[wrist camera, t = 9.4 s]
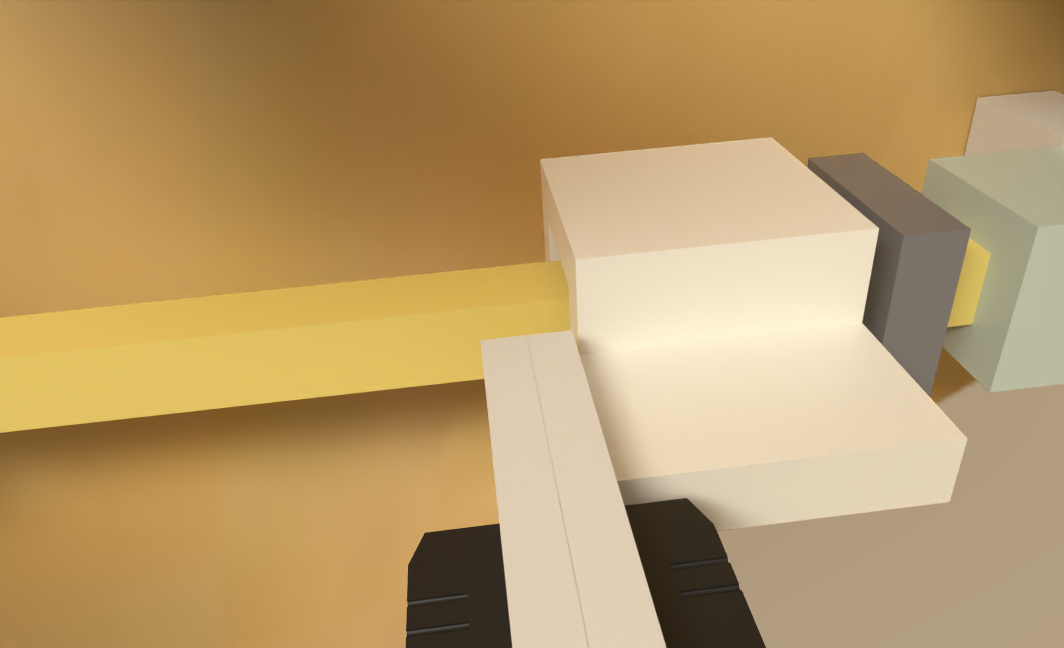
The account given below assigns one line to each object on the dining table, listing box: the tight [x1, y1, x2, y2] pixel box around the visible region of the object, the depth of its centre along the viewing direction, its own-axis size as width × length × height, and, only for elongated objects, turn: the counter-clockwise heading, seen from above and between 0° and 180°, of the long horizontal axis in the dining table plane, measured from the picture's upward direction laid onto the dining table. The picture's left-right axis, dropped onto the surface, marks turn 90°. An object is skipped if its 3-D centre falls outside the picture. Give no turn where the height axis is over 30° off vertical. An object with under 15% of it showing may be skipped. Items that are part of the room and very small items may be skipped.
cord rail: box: [0, 90, 1064, 433], centre depth 17 cm, size 34×4×7 cm, turn 94°
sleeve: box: [540, 137, 967, 531], centre depth 15 cm, size 5×5×8 cm
